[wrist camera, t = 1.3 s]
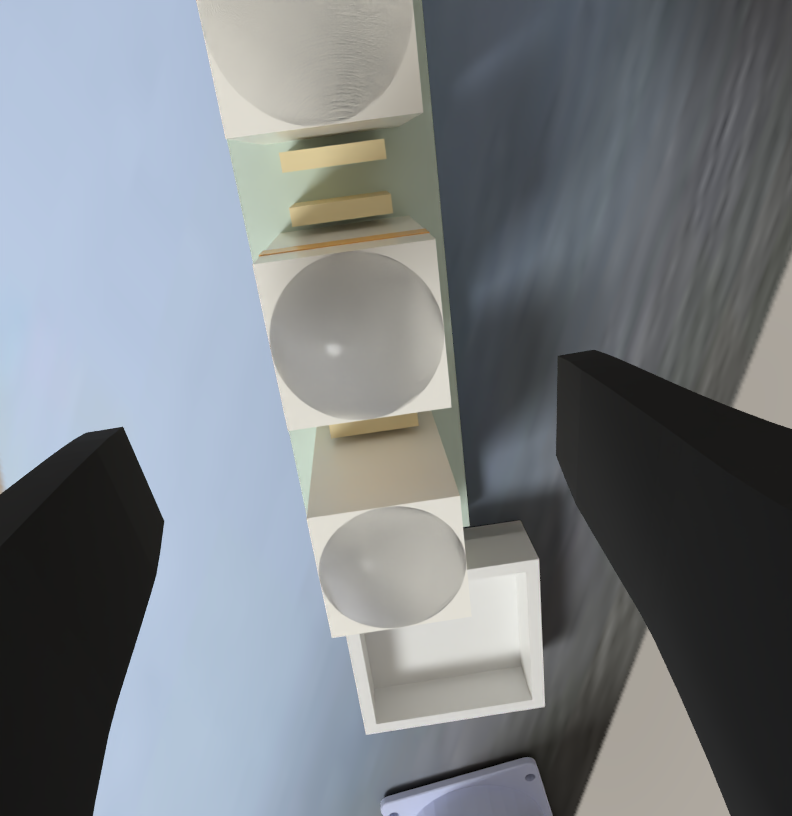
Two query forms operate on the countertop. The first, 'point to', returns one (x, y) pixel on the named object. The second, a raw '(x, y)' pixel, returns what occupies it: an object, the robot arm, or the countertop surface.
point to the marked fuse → (354, 321)
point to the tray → (461, 645)
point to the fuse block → (349, 203)
